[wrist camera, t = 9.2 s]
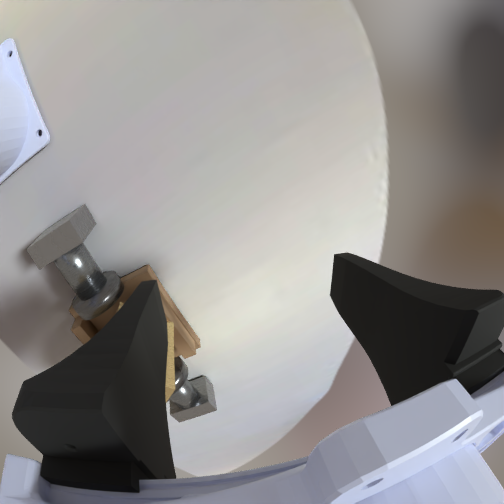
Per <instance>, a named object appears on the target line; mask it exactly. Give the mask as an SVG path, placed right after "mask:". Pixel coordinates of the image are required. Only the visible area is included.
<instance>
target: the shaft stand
mask: <svg viewBox="0 0 504 504" xmlns="http://www.w3.org/2000/svg"><path fill="white" fill-rule="evenodd" d="M95 225H96V222H95V221H94V219H93V217H92V216H91V214H90V212H89V210H88V209H87V207H86V205H85V204H84V205H83V206H81V207H80V208H78V209H76V210H75V211H73V212H72V213H70V214H69V215H67V216H66V217H64V218H63V219H61V220H60V221H58V222H57V223H55V224H54V225H52V226H51V227H49V228H48V229H47V230H45V231H44V232H43V233H42V234H41V235H40V236H39V237H38V238H37V239H36V240H35V241H34V242H33V243H32V244H31V245H30V246H29V247H28V248H27V249H26V250H27V252H28V253H29V255H30V256H31V258H32V259H33V261H34V262H35V264H36V265H37V267H38V268H39V270H40V269H42V268H43V267H45V266H46V265H48V264H49V263H51V262H52V261H53V262H54V263H55V265H56V266H57V268H58V269H59V270H60V272H61V273H62V275H63V276H64V278H65V279H66V280H67V282H68V283H69V285H70V286H71V287H72V289H73V290H74V292H75V293H76V294H77V295H76V296H75V298H74V300H73V302H72V305H71V307H70V309H69V312H70V313H71V314H72V316H73V317H74V318H75V321H74V323H73V326H72V328H71V331H72V332H73V333H74V334H75V335H76V337H77V338H78V339H79V340H80V341H81V342H82V343H83V344H85V343H87V342H88V341H89V340H90V339H91V338H92V337H94V336H95V335H96V334H97V333H98V332H99V331H100V330H101V329H102V328H103V327H104V326H105V325H106V324H107V323H108V322H109V321H110V319H111V318H112V317H113V316H114V315H115V314H116V311H117V309H118V306H119V304H120V302H123V303H125V302H126V301H127V299H128V298H129V297H130V296H131V294H132V293H133V292H134V290H135V289H136V288H137V286H138V285H139V284H140V283H141V282H142V281H149V280H156V279H157V283H158V287H159V291H160V296H161V300H162V304H163V308H164V312H165V316H166V320H168V321H170V322H173V323H174V367H175V391H174V392H173V394H172V395H171V396H170V398H169V399H170V415H171V416H172V417H174V418H175V419H176V420H177V421H178V422H182V421H185V420H189V419H192V418H195V417H198V416H201V415H204V414H207V413H210V412H213V411H216V410H217V407H216V402H215V396H214V390H213V384H212V383H211V382H210V381H209V380H208V379H207V378H206V376H203V377H200V378H198V379H195V380H192V381H188V380H187V376H188V367H187V365H186V364H185V363H184V362H183V360H182V359H181V358H180V357H179V356H180V355H182V356H183V357H184V358H185V359H186V358H188V357H191V356H193V355H196V349H198V348H200V347H201V346H200V339H199V338H198V336H197V335H196V334H195V332H194V331H193V329H192V328H191V327H190V325H189V324H188V322H187V321H186V319H185V318H184V317H183V315H182V314H181V312H180V311H179V309H178V308H177V306H176V305H175V304H174V302H173V301H172V299H171V298H170V296H169V295H168V293H167V292H166V290H165V289H164V287H163V286H162V284H161V283H160V281H159V279H158V278H157V276H156V275H155V273H154V272H153V270H152V269H151V267H150V265H149V264H148V265H146V266H144V267H142V268H140V269H138V270H136V271H134V272H132V273H130V274H128V275H126V276H124V277H122V278H119V276H118V275H117V273H116V272H115V271H108V272H105V273H102V271H101V270H100V268H99V267H98V265H97V264H96V262H95V261H94V259H93V258H92V256H91V255H90V253H89V252H88V250H87V248H86V247H85V245H84V244H83V242H84V240H85V239H86V237H87V236H88V235H89V233H90V232H91V230H92V229H93V228H94V226H95Z"/></svg>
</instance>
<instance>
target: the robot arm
mask: <svg viewBox="0 0 504 504" xmlns="http://www.w3.org/2000/svg"><path fill="white" fill-rule="evenodd" d="M11 52H12V56H11V57H10V53H11ZM39 130H42V136H41V137H40V136H39ZM49 142H50V135H49V133H48V130H47V128H46V126H45V123H44V121H43V119H42V116H41V114H40V112H39V109H38V107H37V104H36V102H35V99H34V97H33V94H32V92H31V89H30V86H29V84H28V81H27V78H26V75H25V73H24V70H23V67H22V64H21V61H20V58H19V55H18V51H17V48H16V45H15V41H14V39H11V38H8V39H6V40H5V41H4V42H3V43H2V44H0V184H1V183H2V182H3V181H4V180H5V179H6V178H8V177H9V176H10V175H11V174H12V173H13V172H14V171H16V170H17V169H18V168H19V167H20V166H21V165H23V164H24V163H25V162H26V161H27V160H29V159H30V158H31V157H32V156H34V155H35V154H36V153H37V152H39V151H40V150H41V149H43V148H44V147H45V146H47V145H48V143H49ZM330 296H331V298H332V300H333V303H334V305H335V307H336V308H337V310H338V312H339V314H340V316H341V317H342V318H343V320H344V321H345V323H346V324H347V326H348V327H349V328H350V330H351V331H352V333H353V334H354V335H355V337H356V338H357V340H358V341H359V342H360V344H361V345H362V347H363V348H364V350H365V351H366V353H367V355H368V356H369V358H370V360H371V362H372V364H373V366H374V367H375V369H376V371H377V373H378V375H379V377H380V380H381V382H382V384H383V386H384V389H385V391H386V393H387V396H388V398H389V401H390V403H391V407H388V408H386V409H384V410H381V411H378V412H376V413H374V414H371V415H368V416H366V417H363V418H360V419H358V420H356V421H354V422H352V423H350V424H348V425H345V426H343V427H341V428H339V429H337V430H336V431H334V432H333V433H331V434H330V435H328V436H327V437H325V438H324V439H323V440H321V441H320V442H319V443H318V444H317V445H316V447H315V448H314V450H313V451H312V452H311V453H310V455H309V456H307V457H303V458H299V459H296V460H292V461H288V462H284V463H280V464H275V465H271V466H266V467H261V468H257V469H251V470H246V471H240V472H234V473H227V474H220V475H212V476H203V477H193V478H180V479H176V474H175V469H174V464H173V458H172V452H171V445H170V438H169V430H168V422H167V411H166V399H165V386H166V368H167V352H168V331H167V320H166V316H165V312H164V308H163V304H162V300H161V296H160V291H159V287H158V283H157V279H156V280H149V281H142V282H141V283H140V284H139V285H138V286H137V288H136V289H135V290H134V292H133V293H132V294H131V296H130V297H129V298H128V299H127V301H126V302H125V303H124V304H123V306H122V307H121V308H120V309H119V310H118V312H117V313H116V314H115V315H114V316H113V317H112V318H111V319H110V321H109V322H108V323H107V324H106V325H105V326H104V327H103V328H102V329H101V330H100V331H99V332H98V333H97V334H96V335H95V336H94V337H92V338H91V339H90V340H89V341H88V342H87V343H85V344H84V345H83V346H82V347H80V348H79V349H78V350H76V351H75V352H74V353H73V354H71V355H70V356H68V357H67V358H65V359H64V360H62V361H61V362H59V363H58V364H56V365H54V366H53V367H51V368H49V369H47V370H46V371H44V372H42V373H40V374H38V375H36V376H34V377H32V378H30V379H28V380H25V381H24V382H23V384H22V387H21V389H20V392H19V395H18V398H17V400H16V403H15V406H14V410H13V412H12V419H13V421H14V423H15V425H16V427H17V428H18V430H19V431H20V432H21V434H22V435H23V436H24V437H25V438H26V439H27V440H28V441H29V442H30V443H31V444H32V445H33V446H35V448H36V449H38V450H39V451H40V452H41V453H42V454H43V460H42V463H40V462H38V461H36V460H34V459H30V458H25V457H21V456H16V455H12V454H7V456H6V460H5V464H4V469H3V474H2V480H1V485H0V504H504V489H503V488H502V486H501V485H500V483H499V481H498V480H497V478H496V477H495V475H494V474H493V473H492V471H491V469H490V468H489V466H488V465H487V464H486V462H485V461H484V459H483V458H482V456H481V455H480V453H482V452H483V451H484V450H485V449H486V448H487V447H488V446H489V445H491V444H492V443H493V442H494V441H495V440H496V439H498V438H499V437H500V436H501V435H502V434H503V433H504V353H503V352H502V351H501V350H500V348H501V347H502V343H501V342H500V341H499V340H498V337H499V335H500V333H501V331H502V329H503V327H504V294H503V293H502V292H501V291H499V290H476V289H466V288H457V287H451V286H445V285H440V284H436V283H431V282H428V281H424V280H420V279H417V278H414V277H411V276H408V275H405V274H402V273H399V272H397V271H394V270H391V269H389V268H386V267H384V266H381V265H379V264H377V263H374V262H372V261H370V260H367V259H365V258H362V257H359V256H357V255H354V254H350V253H341V254H334V262H333V273H332V282H331V292H330Z"/></svg>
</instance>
